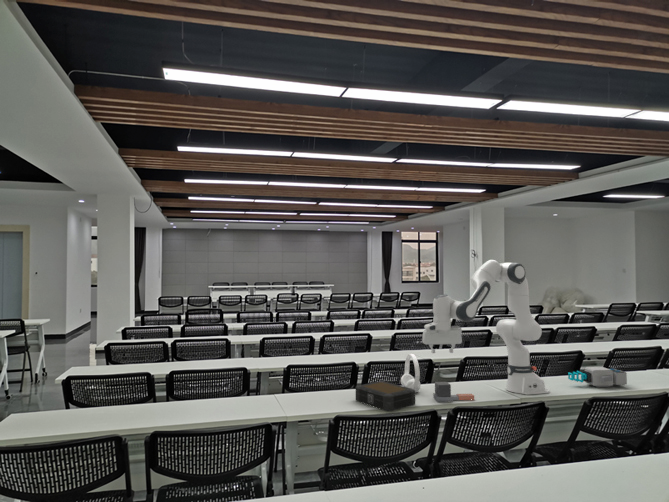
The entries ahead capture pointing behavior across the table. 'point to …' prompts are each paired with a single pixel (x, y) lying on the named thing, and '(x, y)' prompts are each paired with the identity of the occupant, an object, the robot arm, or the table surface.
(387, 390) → the cash box
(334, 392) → the table surface
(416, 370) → the headphones
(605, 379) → the toy
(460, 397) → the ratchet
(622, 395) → the table surface
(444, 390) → the dark grey cube
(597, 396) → the table surface
